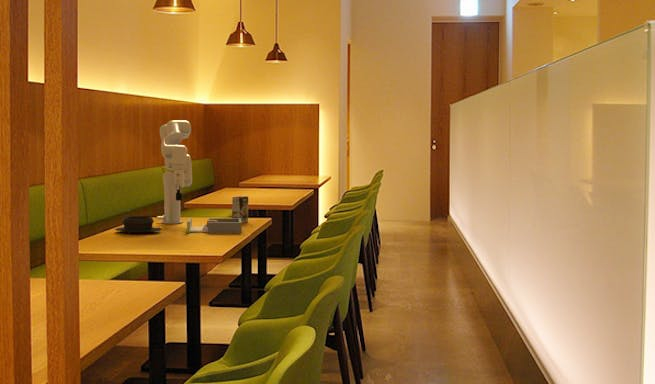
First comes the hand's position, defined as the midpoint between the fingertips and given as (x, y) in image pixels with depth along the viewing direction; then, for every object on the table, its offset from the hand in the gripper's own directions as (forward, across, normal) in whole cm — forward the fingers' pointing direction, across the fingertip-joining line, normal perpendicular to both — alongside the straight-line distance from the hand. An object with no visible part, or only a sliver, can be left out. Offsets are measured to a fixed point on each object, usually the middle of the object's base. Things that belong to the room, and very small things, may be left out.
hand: (178, 200), depth 412 cm
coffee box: (+17, +37, -34) cm, 53 cm away
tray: (+17, +1, -15) cm, 23 cm away
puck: (+16, +1, -18) cm, 24 cm away
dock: (+17, +1, -25) cm, 31 cm away
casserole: (+18, -5, +22) cm, 28 cm away
